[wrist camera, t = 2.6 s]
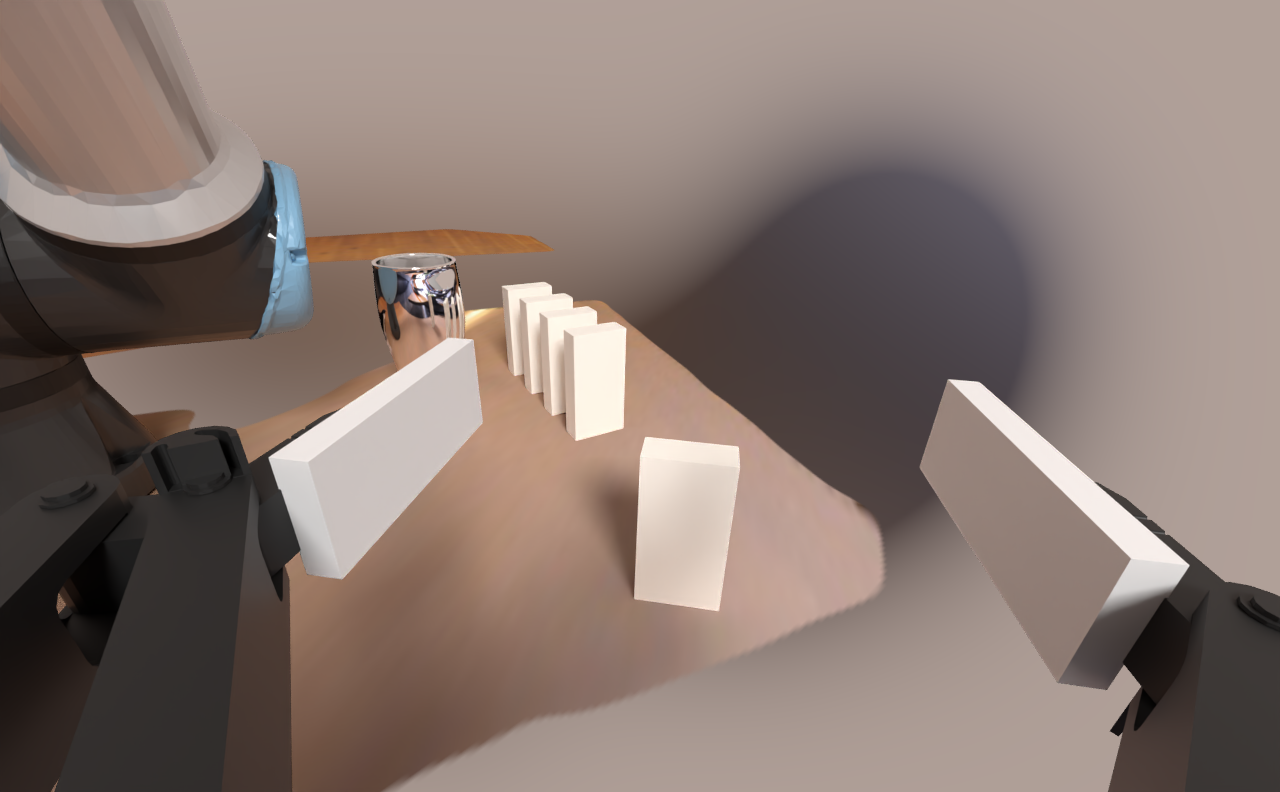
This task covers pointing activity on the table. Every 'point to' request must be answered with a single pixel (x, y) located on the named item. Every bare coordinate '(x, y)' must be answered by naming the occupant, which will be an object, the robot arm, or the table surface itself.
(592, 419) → the tile
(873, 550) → the table surface
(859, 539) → the table surface
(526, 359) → the tile
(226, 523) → the robot arm
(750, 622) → the table surface
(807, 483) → the table surface
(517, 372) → the tile
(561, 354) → the tile
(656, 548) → the tile
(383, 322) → the silver metal tumbler
